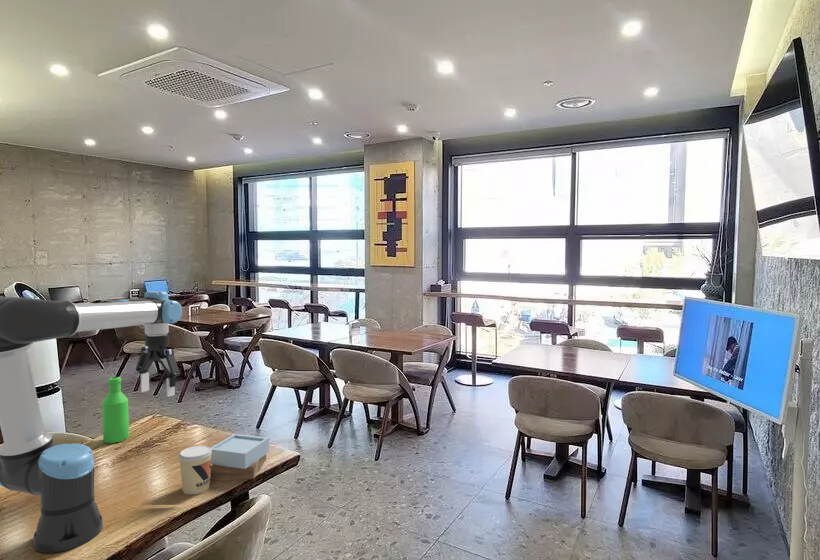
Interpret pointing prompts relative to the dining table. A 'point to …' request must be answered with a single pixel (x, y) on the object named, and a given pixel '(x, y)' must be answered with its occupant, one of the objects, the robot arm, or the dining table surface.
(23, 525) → the dining table surface
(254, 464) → the block bottom
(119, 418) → the bottle
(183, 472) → the coffee cup
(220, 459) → the block top
